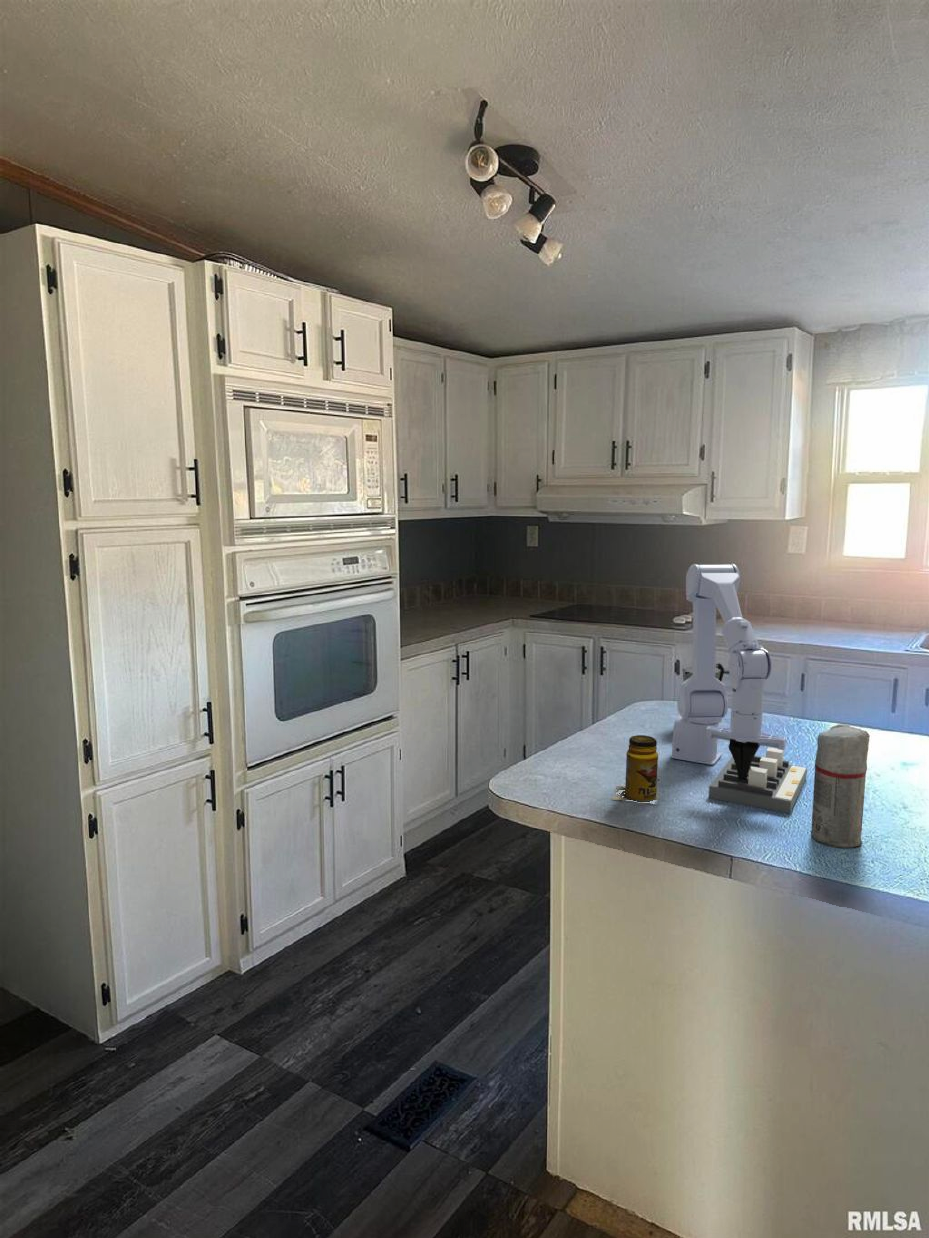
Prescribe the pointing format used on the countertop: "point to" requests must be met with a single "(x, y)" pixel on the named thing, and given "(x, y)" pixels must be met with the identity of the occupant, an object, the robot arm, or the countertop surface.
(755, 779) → the tab front
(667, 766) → the countertop surface
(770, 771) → the tab middle
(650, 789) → the condiment
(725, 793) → the switch panel
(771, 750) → the tab back
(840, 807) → the spray can
